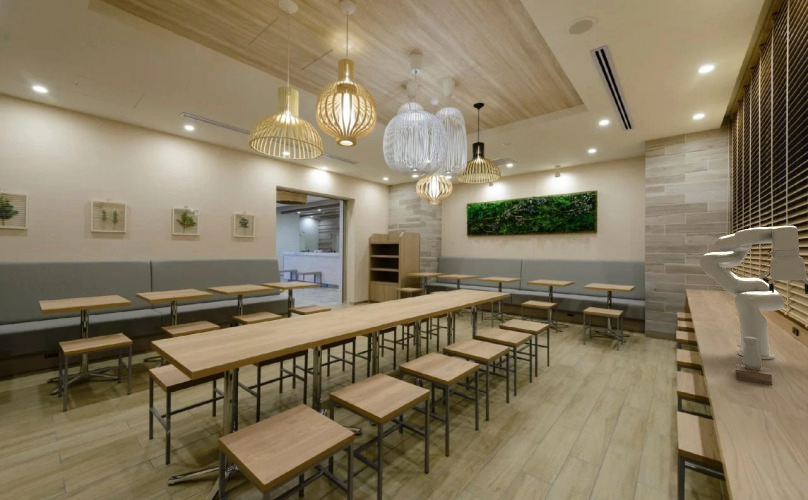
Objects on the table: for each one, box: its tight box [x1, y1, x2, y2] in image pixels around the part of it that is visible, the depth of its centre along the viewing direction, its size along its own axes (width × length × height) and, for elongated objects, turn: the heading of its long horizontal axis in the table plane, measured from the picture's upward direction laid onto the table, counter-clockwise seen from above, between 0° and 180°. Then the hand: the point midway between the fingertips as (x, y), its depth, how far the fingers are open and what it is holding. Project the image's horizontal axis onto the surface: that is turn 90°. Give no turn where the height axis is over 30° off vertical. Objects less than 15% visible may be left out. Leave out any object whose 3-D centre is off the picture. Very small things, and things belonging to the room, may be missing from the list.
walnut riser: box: [735, 363, 773, 386], centre depth 138 cm, size 10×10×4 cm
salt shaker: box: [741, 337, 763, 370], centre depth 138 cm, size 6×6×13 cm
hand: (789, 293), depth 145 cm, fingers open, 9 cm apart
